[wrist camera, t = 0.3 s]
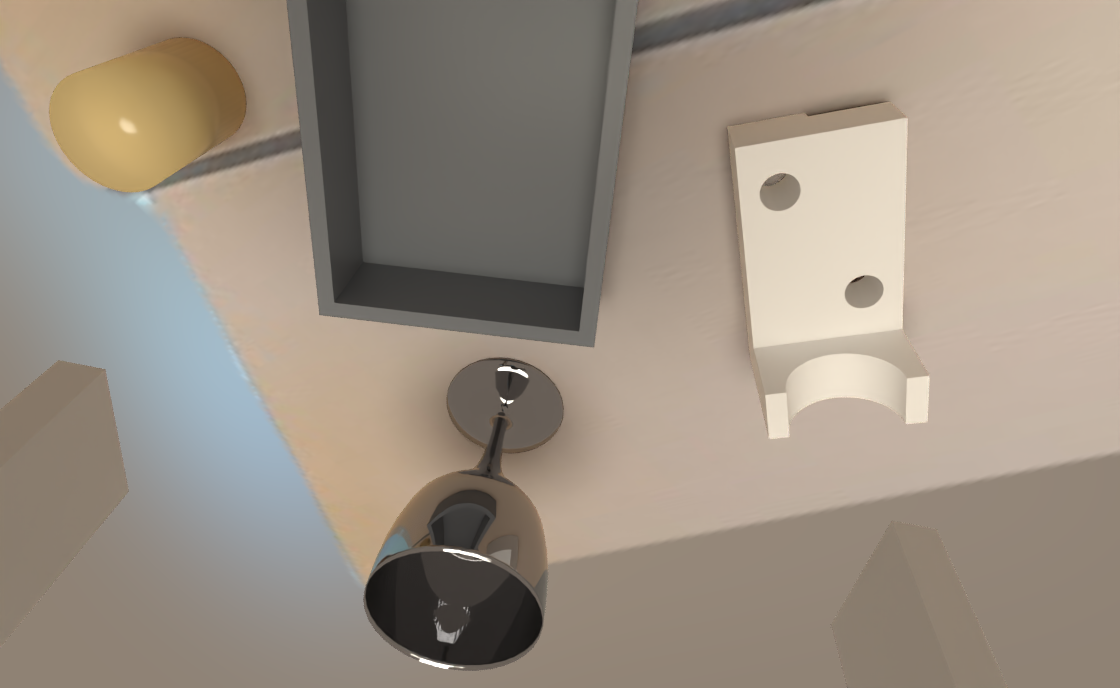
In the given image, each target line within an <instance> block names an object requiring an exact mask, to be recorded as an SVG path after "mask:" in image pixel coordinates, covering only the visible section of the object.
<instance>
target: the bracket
mask: <svg viewBox="0 0 1120 688" xmlns="http://www.w3.org/2000/svg"><path fill="white" fill-rule="evenodd" d="M907 128H908V117H907V116H906V115H904V114H903V113H902V112H901V111H900V110H899V109H898V108H897V107H896V106H894V105H893V104H892V103H891V102H884V103H879V104H873V105H868V106H862V107H857V108H851V109H846V110H840V111H835V112H829V113H824V114H818V115H813V116H807V115H806V113H800V114H795V115H789V116H783V117H778V118H772V119H767V120H761V121H756V122H750V123H745V124H739V125H734V126H728V127H727V131H728V141H729V151H730V161H731V172H732V182H733V192H734V202H735V212H736V223H737V233H738V243H739V253H740V264H741V274H742V284H743V294H744V305H745V315H746V325H747V335H748V346H749V356H750V360H751V364H752V369H753V373H754V377H755V381H756V386H757V390H758V394H759V398H760V403H761V407H762V411H763V415H764V420H765V424H766V428H767V432H768V437H769V439H774V438H783V437H789V425H790V423H791V421H792V419H793V417H794V416H795V415H796V414H797V413H798V412H799V411H800V410H801V409H803V408H805V407H806V406H808V405H810V404H812V403H815V402H818V401H821V400H825V399H830V398H839V397H852V398H861V399H867V400H871V401H874V402H877V403H880V404H882V405H884V406H886V407H888V408H890V409H891V410H893V411H894V412H896V413H897V414H898V415H899V416H900V417H901V418H902V419H903V421H904V422H905V424H914V423H923V422H927V420H928V399H929V379H930V376H929V374H928V372H927V370H926V369H925V367H924V365H923V364H922V362H921V360H920V358H919V357H918V355H917V353H916V352H915V350H914V348H913V346H912V345H911V343H910V341H909V340H908V338H907V336H906V334H905V333H904V331H903V329H902V326H903V286H904V247H905V207H906V167H907ZM779 173H786V175H785V177H784V178H783V179H782V180H781V181H780V182H778V183H777V184H774V185H770V186H764V185H763V183H764V182H765V181H766V180H767V179H768V178H769V177H771V176H773V175H775V174H779ZM864 275H865V276H864ZM860 276H864V277H863V278H862V279H861V280H859V281H857V282H854V283H850V282H851V281H852V280H854V279H855V278H857V277H860Z"/></svg>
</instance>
